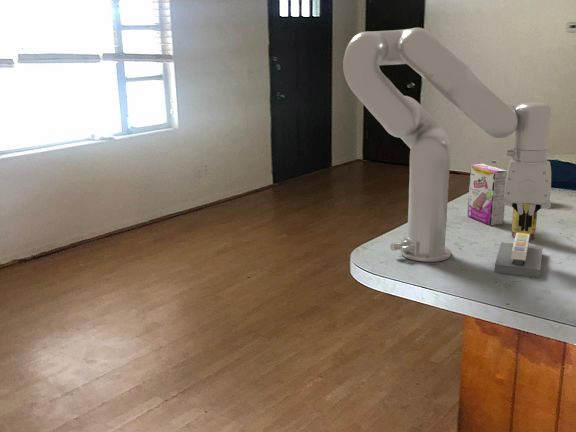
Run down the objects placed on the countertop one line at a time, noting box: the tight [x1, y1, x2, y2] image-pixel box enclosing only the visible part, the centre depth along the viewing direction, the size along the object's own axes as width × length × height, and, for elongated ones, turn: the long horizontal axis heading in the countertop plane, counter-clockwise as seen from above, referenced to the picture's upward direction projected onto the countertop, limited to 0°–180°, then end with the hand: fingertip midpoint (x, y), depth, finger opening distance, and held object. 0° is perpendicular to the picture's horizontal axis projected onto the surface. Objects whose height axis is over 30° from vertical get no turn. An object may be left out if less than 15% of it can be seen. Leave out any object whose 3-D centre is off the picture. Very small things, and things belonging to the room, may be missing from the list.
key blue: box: [511, 247, 527, 265], centre depth 145 cm, size 3×3×4 cm
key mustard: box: [515, 233, 530, 244], centre depth 155 cm, size 3×3×4 cm
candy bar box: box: [466, 163, 507, 227], centre depth 183 cm, size 11×5×16 cm, turn 22°
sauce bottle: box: [511, 204, 539, 240], centre depth 167 cm, size 7×6×20 cm
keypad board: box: [493, 241, 544, 278], centre depth 151 cm, size 17×10×2 cm, turn 157°
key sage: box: [513, 237, 530, 249], centre depth 152 cm, size 3×3×4 cm
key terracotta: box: [513, 241, 529, 255], centre depth 148 cm, size 3×3×4 cm
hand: (524, 229), depth 150 cm, fingers closed
